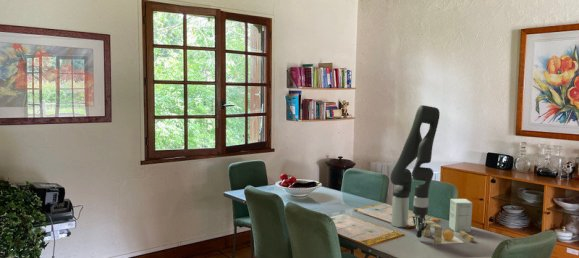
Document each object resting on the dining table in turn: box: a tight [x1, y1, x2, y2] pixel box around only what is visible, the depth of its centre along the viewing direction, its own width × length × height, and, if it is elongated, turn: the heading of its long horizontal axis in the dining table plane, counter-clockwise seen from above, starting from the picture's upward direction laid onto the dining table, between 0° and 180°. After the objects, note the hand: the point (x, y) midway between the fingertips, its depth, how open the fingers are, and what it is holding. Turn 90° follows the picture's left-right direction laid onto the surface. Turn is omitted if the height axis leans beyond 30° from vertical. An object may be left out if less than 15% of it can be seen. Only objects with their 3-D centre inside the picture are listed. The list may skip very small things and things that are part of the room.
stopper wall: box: [458, 231, 475, 243], centre depth 244 cm, size 11×2×2 cm, turn 10°
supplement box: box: [448, 198, 473, 233], centre depth 259 cm, size 10×9×17 cm
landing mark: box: [431, 234, 465, 245], centre depth 242 cm, size 12×12×1 cm
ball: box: [442, 229, 454, 241], centre depth 240 cm, size 6×6×6 cm
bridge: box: [422, 218, 443, 246], centre depth 240 cm, size 14×3×9 cm, turn 10°
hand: (418, 236), depth 239 cm, fingers closed
